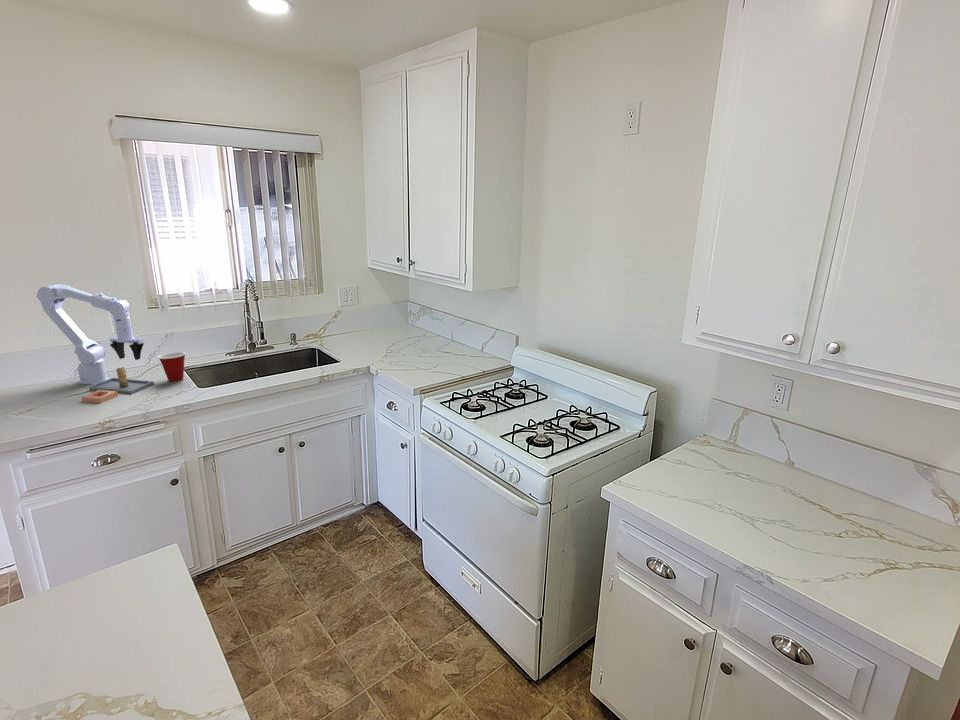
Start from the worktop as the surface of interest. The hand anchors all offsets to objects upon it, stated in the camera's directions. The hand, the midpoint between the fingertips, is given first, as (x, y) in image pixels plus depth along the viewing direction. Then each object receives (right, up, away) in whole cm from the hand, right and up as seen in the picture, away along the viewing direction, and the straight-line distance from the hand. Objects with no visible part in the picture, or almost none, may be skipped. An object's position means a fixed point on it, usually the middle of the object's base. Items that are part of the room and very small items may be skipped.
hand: (130, 358), depth 227 cm
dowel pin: (+1, -12, -5) cm, 13 cm away
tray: (0, -12, -5) cm, 13 cm away
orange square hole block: (0, -16, -17) cm, 24 cm away
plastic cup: (+16, -10, +6) cm, 20 cm away
